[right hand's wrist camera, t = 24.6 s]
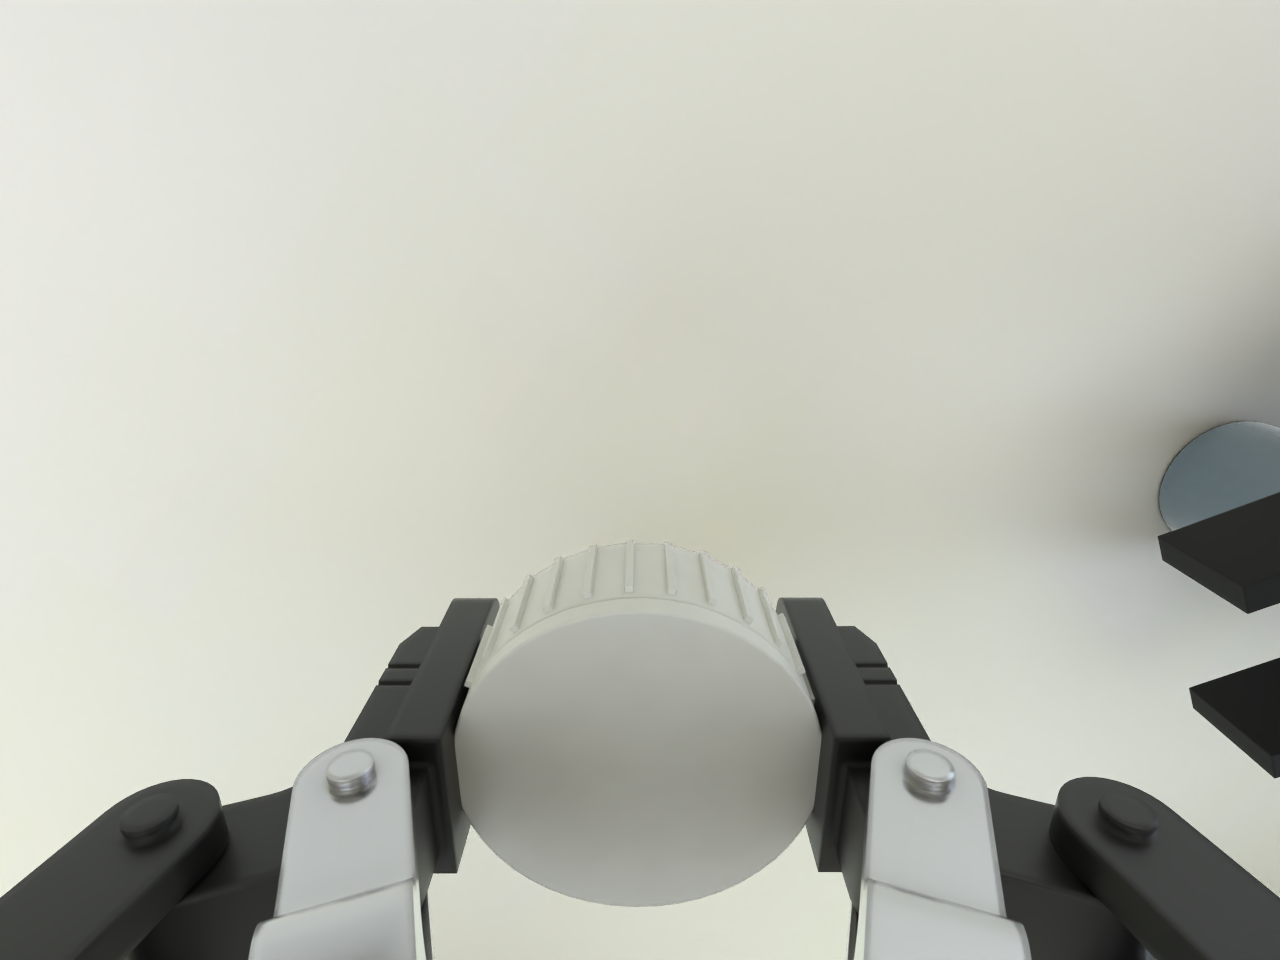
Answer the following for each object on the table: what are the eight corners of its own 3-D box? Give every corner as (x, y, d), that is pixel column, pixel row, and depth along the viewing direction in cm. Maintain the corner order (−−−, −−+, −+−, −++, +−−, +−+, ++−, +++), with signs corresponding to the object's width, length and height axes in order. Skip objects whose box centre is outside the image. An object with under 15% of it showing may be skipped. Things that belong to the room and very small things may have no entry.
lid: (864, 636, 11) (911, 721, 9) (686, 848, 12) (694, 957, 10) (579, 474, 10) (565, 533, 8) (424, 724, 11) (382, 822, 9)
